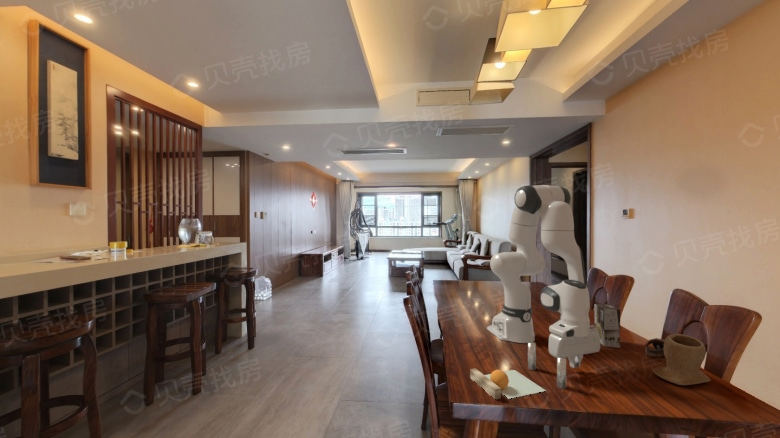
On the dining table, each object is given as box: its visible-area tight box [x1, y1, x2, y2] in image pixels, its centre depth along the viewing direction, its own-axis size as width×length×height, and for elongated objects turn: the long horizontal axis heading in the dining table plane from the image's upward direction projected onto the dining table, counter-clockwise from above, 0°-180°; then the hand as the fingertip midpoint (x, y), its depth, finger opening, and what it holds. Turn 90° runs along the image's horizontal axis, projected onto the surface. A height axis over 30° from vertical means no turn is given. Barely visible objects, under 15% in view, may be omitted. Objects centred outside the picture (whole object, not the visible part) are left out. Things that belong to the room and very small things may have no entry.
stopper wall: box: [469, 368, 502, 400], centre depth 96 cm, size 13×2×3 cm, turn 18°
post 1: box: [527, 341, 537, 371], centre depth 109 cm, size 3×3×9 cm
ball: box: [490, 369, 509, 390], centre depth 95 cm, size 6×6×6 cm
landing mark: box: [483, 369, 547, 400], centre depth 98 cm, size 14×14×1 cm
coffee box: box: [594, 303, 621, 349], centre depth 132 cm, size 9×6×16 cm
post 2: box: [556, 356, 567, 390], centre depth 97 cm, size 3×3×9 cm
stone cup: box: [652, 333, 712, 386], centre depth 100 cm, size 15×12×15 cm
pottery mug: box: [644, 337, 665, 358], centre depth 119 cm, size 12×10×8 cm
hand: (575, 366), depth 107 cm, fingers closed
